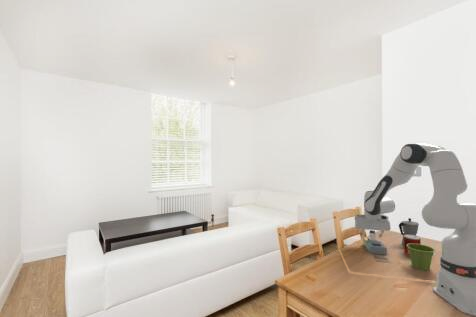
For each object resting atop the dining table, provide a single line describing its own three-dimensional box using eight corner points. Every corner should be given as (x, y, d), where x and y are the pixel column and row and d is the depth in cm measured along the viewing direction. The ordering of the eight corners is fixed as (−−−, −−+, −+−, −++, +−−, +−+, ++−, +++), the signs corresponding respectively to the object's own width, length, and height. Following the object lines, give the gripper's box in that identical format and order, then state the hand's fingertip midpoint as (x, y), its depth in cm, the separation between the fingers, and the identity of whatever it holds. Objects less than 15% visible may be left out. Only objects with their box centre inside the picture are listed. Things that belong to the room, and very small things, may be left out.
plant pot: (441, 275, 114) (440, 252, 114) (414, 273, 116) (414, 250, 116) (426, 264, 125) (426, 243, 125) (402, 262, 127) (402, 242, 128)
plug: (376, 247, 147) (376, 232, 147) (370, 247, 148) (370, 231, 148) (374, 245, 150) (374, 230, 150) (368, 245, 151) (368, 230, 151)
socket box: (386, 256, 136) (386, 247, 136) (369, 254, 138) (369, 245, 138) (378, 246, 151) (377, 238, 152) (362, 245, 154) (362, 237, 154)
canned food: (424, 257, 134) (423, 238, 134) (410, 257, 134) (410, 238, 134) (414, 252, 142) (414, 234, 142) (401, 252, 142) (401, 234, 142)
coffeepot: (411, 241, 159) (410, 216, 159) (425, 246, 150) (424, 219, 150) (393, 243, 156) (392, 217, 156) (406, 248, 147) (405, 221, 147)
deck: (390, 264, 125) (390, 262, 125) (376, 263, 127) (376, 261, 127) (384, 257, 135) (384, 255, 135) (371, 255, 136) (371, 254, 136)
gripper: (355, 215, 149) (355, 236, 148) (391, 217, 143) (391, 239, 143) (353, 213, 155) (353, 233, 155) (387, 214, 149) (387, 235, 149)
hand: (372, 236), depth 149 cm, fingers open, 8 cm apart
